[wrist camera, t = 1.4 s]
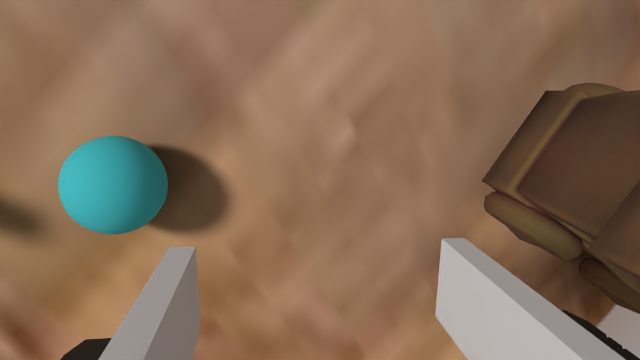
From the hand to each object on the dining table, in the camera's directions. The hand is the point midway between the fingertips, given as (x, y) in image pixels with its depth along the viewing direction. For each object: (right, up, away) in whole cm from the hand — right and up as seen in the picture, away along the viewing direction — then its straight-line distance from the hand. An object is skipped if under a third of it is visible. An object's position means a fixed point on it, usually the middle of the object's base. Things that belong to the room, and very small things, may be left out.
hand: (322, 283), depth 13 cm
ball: (-13, +3, +12) cm, 18 cm away
